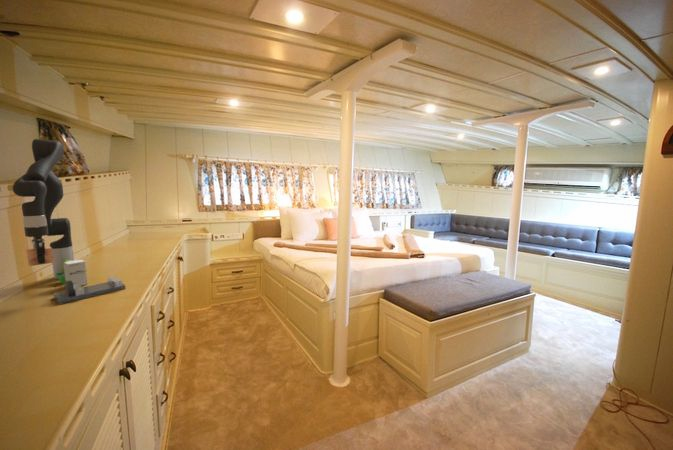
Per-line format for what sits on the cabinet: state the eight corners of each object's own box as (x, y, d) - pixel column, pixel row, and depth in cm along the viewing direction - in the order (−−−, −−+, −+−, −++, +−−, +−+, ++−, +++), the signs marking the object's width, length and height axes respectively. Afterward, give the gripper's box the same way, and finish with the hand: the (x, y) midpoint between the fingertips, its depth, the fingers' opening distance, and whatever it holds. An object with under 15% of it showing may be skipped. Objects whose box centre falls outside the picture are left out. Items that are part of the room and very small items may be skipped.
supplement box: (69, 288, 152) (66, 264, 150) (66, 285, 157) (62, 261, 155) (88, 284, 158) (85, 261, 156) (84, 281, 163) (81, 258, 161)
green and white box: (61, 285, 157) (58, 264, 156) (55, 282, 162) (52, 261, 160) (88, 279, 167) (86, 259, 165) (81, 276, 171) (79, 257, 170)
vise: (53, 297, 140) (52, 288, 140) (117, 283, 159) (116, 275, 159) (59, 304, 133) (57, 294, 132) (125, 288, 152) (124, 280, 151)
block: (29, 266, 135) (27, 251, 134) (28, 264, 137) (26, 249, 136) (53, 262, 141) (51, 247, 140) (52, 261, 143) (50, 246, 142)
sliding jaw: (64, 290, 143) (63, 280, 142) (78, 288, 147) (76, 277, 146) (70, 297, 136) (68, 285, 135) (84, 293, 139) (83, 282, 139)
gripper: (21, 224, 138) (27, 261, 140) (26, 228, 129) (31, 267, 131) (44, 222, 143) (49, 258, 146) (49, 225, 135) (55, 263, 137)
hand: (41, 262), depth 139 cm, fingers closed on block, 3 cm apart
